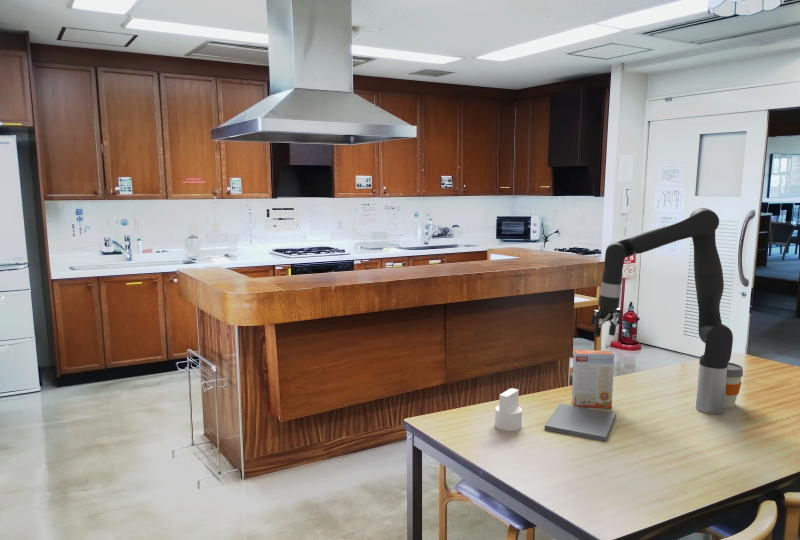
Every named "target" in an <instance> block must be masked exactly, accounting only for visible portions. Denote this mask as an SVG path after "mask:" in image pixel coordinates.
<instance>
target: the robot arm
mask: <svg viewBox="0 0 800 540" xmlns="http://www.w3.org/2000/svg"><path fill="white" fill-rule="evenodd" d="M719 227H720V218H719V216H718V214H717V213H716V212H715V211H713V210H711V209H710V208H705V207H699V208H696V209H695V210H693V211H692V212H691V213H690V215H689V217H686V218H684V219H683V220H681V221H678V222H675V223H673V224H670V225H666V226H665V225H664V226H661V227H657V228H654V229H651V230H647V231H644V232H641V233H638V234H636V235H633V236H631V237H629V238H624V239H621V240H618V241H615V242H611V243H610V244H608V245H607V247H606V249H605V254H604V266H603V267H604V269H603V272H602V279H601V284H600V289H599V294H598V296H599V297H598V306H599V310H597V309H593V311H592V317H591V322H590V324H591V326H593V327H594V331H593V336H594V337H596V338H600V337H601V333H602V331H601V330H602V326H603V324H606V322H609V329H608V335H610V336H615V334H616V330H617V329H616V328H617V326H618V325H621V322H622V313H623V310H622V309H621V308H620V302H621V294H622V280H623V268H624V264H625V259H626V258H628V257H631V256H634V255H640V254H643V253H646V252H649V251H651V250H655V249H657V248H661V247H664V246H666V245H668V244H672V243H675V242H679V241H681V240H685V239H689V238H691V239H692V244H693V273H694V274H693V275H694V283H695V284H694V285H695V293H696V301H697V307H698V336H699V338H700V340H701V341H702V343H704V344H705V345H704V351H703V355H700V357H699V364H698V365H699V366H698V377H697V378H698V379H697V389H696V398H695V399H696V400H695V408H696V410H698V411H699V412H702V413H705V414H709V415H724V414H725V407H724V406H725V395H726V378H727V367H728V362H730V360H731V357H732V349H733V343H734V335H733V332H732V330H731V329H730V328H729V327H728V326H726V325H725V324H723V322H722V318H721V312H720V304H721V299H722V296H723V293H724V290H725V289H724V288H725V283H724V282H725V281H724V273H723V267H722V262H721V259H720V255H719V251H718V248H717V242H716V231H717V229H718V228H719Z"/></svg>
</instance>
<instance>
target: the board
mask: <svg viewBox="0 0 800 540" xmlns="http://www.w3.org/2000/svg"><path fill="white" fill-rule="evenodd" d="M616 418H617V412H612V411H606V410H601V409H594V408H591V407H578V406H574V405H573V404H572V405H571V404H567V403H561V402H560V403H559V404H558V406H557V407H556V408H555V410H554V412H553V413H551V415H550V417H549V418H548V420H547V421H546V423H545V424H544V431H551V432H555V433H559V434H564V433H565V434H566V435H570V436H576V437H580V438H581V437H582V438H585V439H591V440H596V441H601V442H607V440H608V438H607V437H609V434H610V433H609V432H611V430H612V428H613V425H614V422H615V420H616Z"/></svg>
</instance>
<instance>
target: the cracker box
mask: <svg viewBox="0 0 800 540" xmlns="http://www.w3.org/2000/svg"><path fill="white" fill-rule="evenodd" d="M572 355H573V356H572V357H573V358H572V380H571V381H572V382H571V384H572V385H571V403H572V406H578V407H584V408H601V409H602V408H603V409H605V408H607V409H612V406H613V392H614V390H613V388H614V373H615V372H614V368H615V366H614V365H615V354H614V353H613V352H612V351H611V350H589V349H585V350H583V349H574V350H573V354H572Z"/></svg>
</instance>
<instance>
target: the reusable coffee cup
mask: <svg viewBox="0 0 800 540" xmlns="http://www.w3.org/2000/svg"><path fill="white" fill-rule="evenodd" d="M743 375H744V367H743V366H742V365H739V364H737V363H734V362H730V361H729V362H728V367H727V378H726V395H725V406H724V408H734V407H735V404H736V401H737V395H739V394H740V390H741V385H742V381H741V380H742V378H743Z"/></svg>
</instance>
